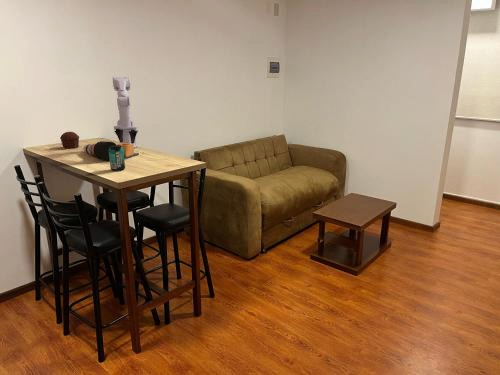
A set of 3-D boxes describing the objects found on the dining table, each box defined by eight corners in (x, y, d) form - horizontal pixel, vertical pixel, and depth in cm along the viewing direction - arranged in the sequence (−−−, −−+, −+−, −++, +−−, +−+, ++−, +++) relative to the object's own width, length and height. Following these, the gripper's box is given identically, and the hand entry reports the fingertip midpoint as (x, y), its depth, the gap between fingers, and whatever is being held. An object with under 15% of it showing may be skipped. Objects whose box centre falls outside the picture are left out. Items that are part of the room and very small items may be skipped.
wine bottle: (90, 159, 242) (95, 143, 243) (115, 162, 218) (121, 145, 219) (73, 154, 235) (79, 138, 236) (98, 156, 211) (104, 138, 212)
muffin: (60, 147, 254) (58, 131, 251) (78, 145, 260) (76, 130, 257) (63, 150, 244) (60, 134, 241) (82, 148, 250) (80, 132, 247)
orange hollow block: (123, 153, 231) (122, 143, 229) (134, 154, 229) (133, 143, 227) (115, 155, 224) (113, 145, 223) (126, 156, 222) (125, 146, 220)
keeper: (122, 153, 235) (122, 146, 234) (138, 154, 232) (138, 147, 231) (107, 158, 222) (107, 151, 221) (124, 159, 219) (123, 152, 218)
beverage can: (126, 167, 202) (124, 144, 198) (123, 171, 195) (120, 147, 191) (113, 168, 201) (110, 144, 198) (108, 171, 195) (106, 147, 191)
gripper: (109, 119, 218) (111, 143, 222) (132, 120, 214) (134, 144, 218) (117, 117, 225) (119, 141, 229) (139, 118, 221) (141, 142, 225)
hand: (127, 142), depth 224 cm, fingers open, 7 cm apart
